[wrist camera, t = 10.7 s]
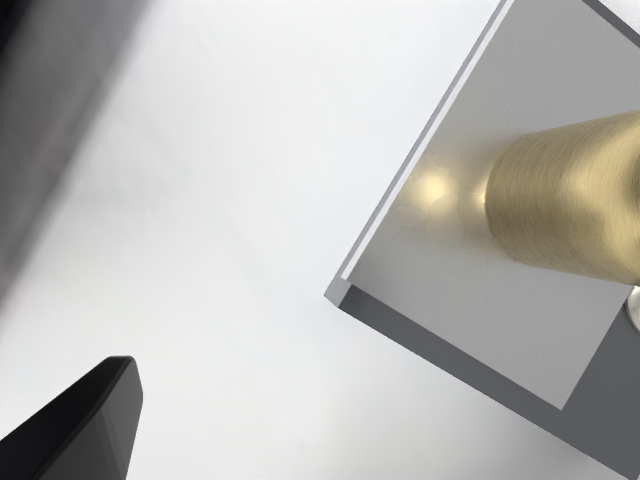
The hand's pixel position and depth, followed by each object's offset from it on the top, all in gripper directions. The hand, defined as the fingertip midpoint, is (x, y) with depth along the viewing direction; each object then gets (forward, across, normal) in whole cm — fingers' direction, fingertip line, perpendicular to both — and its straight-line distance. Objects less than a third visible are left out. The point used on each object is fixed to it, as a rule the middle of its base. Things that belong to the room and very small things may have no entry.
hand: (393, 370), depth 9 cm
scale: (+14, -9, +4) cm, 17 cm away
